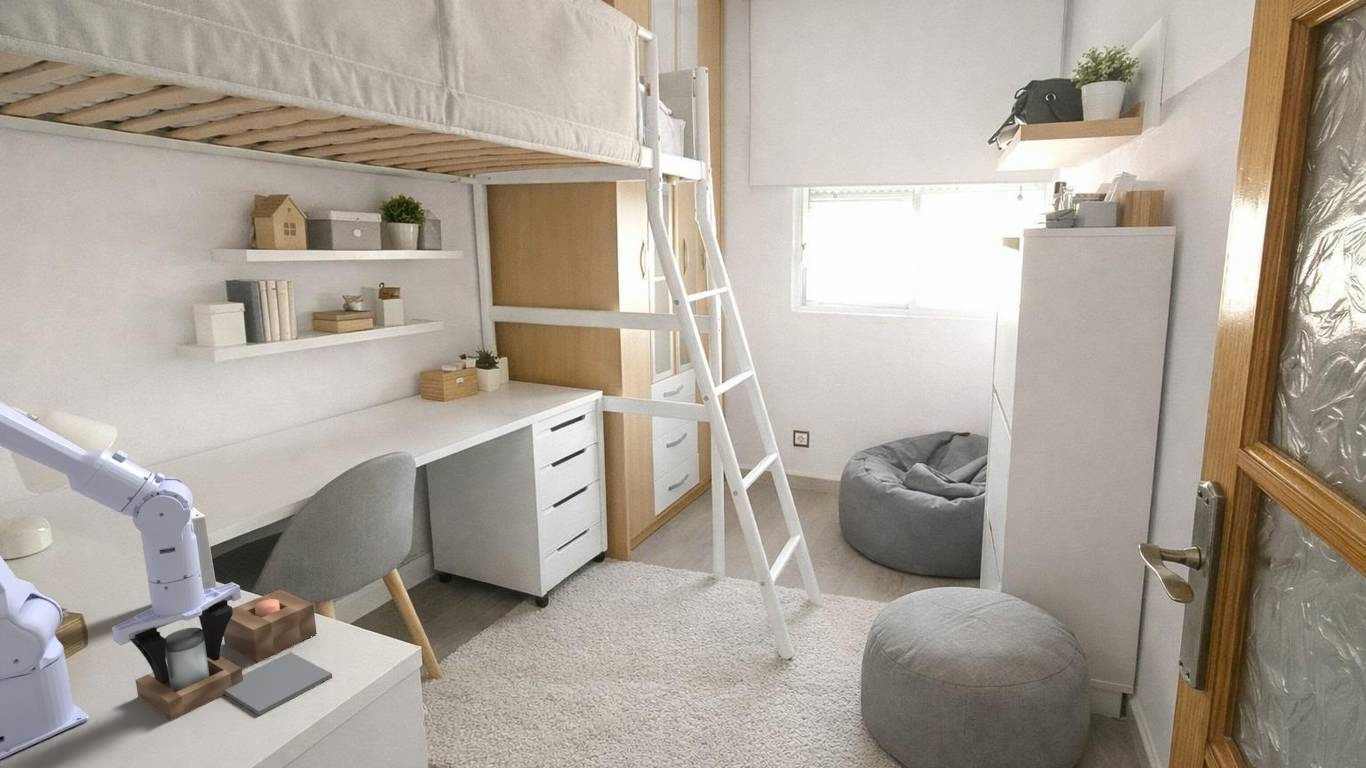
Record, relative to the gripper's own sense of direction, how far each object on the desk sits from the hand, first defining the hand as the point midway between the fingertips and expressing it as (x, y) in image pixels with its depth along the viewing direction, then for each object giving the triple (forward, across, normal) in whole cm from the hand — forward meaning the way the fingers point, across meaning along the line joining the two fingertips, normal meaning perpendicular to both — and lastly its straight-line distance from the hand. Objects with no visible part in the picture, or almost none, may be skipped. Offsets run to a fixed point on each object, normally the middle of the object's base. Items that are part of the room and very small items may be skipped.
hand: (188, 669), depth 102 cm
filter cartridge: (+3, 0, 0) cm, 3 cm away
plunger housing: (+3, +13, +4) cm, 14 cm away
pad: (+3, +7, -8) cm, 11 cm away
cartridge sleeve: (+3, 0, 0) cm, 3 cm away
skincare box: (+3, +12, +28) cm, 31 cm away
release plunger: (+2, +13, +4) cm, 14 cm away
